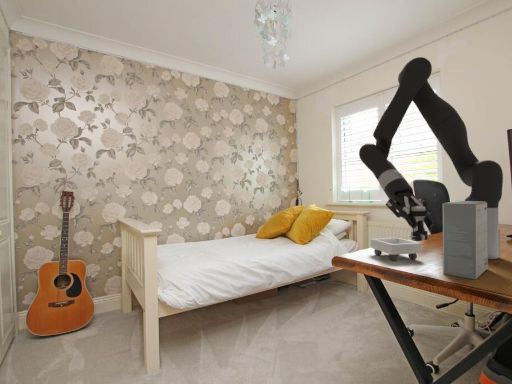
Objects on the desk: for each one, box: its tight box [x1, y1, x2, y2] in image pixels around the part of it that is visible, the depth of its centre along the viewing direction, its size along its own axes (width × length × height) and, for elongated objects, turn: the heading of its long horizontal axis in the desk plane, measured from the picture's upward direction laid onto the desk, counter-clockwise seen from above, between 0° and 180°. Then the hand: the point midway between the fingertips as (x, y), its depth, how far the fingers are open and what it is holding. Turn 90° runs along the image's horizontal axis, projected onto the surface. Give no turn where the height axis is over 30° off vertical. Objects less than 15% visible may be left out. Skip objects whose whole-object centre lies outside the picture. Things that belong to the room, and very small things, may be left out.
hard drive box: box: [442, 200, 489, 280], centre depth 79 cm, size 16×8×20 cm, turn 131°
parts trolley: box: [370, 237, 422, 262], centre depth 96 cm, size 11×11×6 cm
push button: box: [409, 206, 429, 242], centre depth 83 cm, size 7×5×10 cm
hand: (423, 225), depth 82 cm, fingers closed on push button, 5 cm apart
